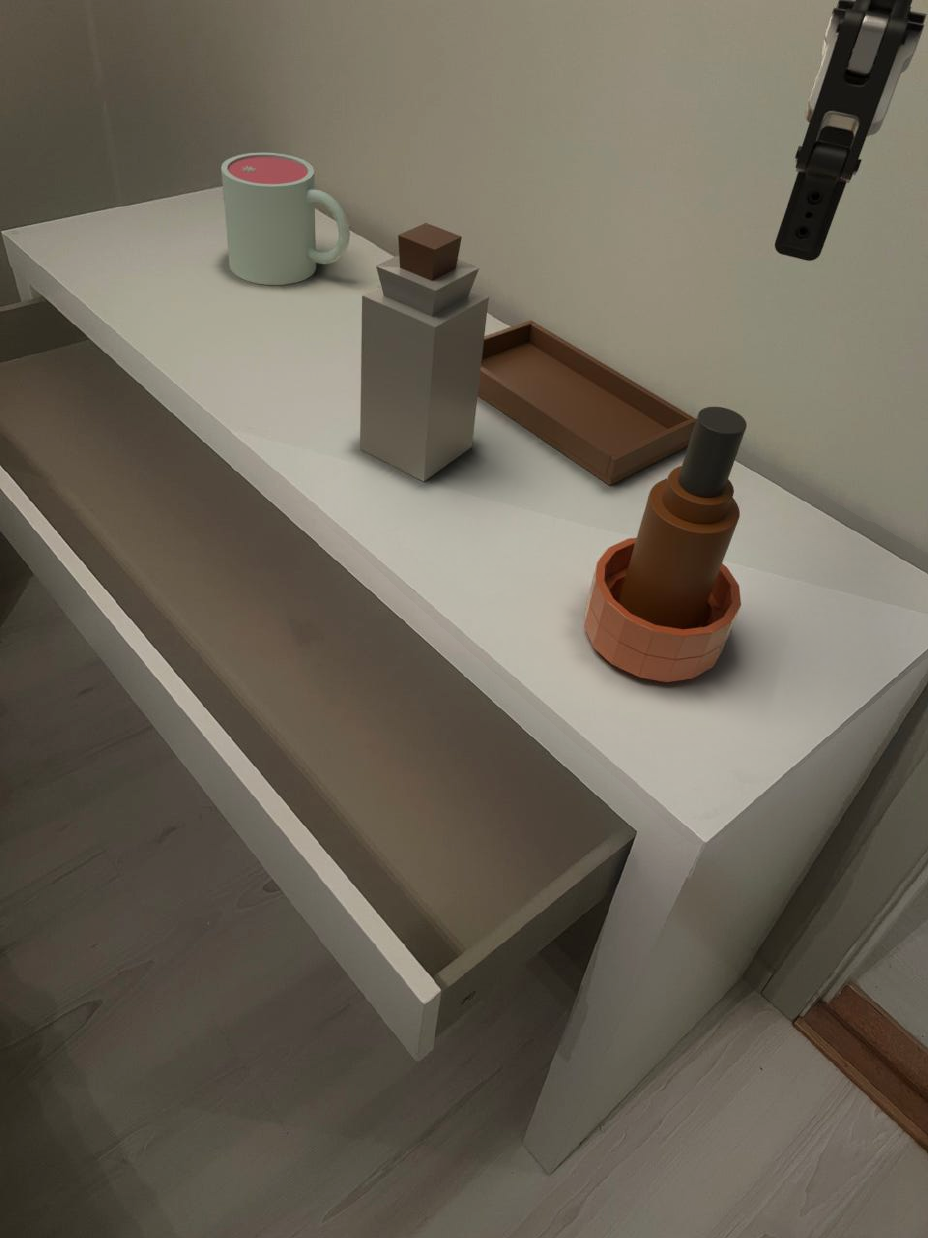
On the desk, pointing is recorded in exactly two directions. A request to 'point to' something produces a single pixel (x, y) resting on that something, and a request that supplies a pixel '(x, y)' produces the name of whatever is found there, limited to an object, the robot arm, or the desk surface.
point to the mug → (275, 218)
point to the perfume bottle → (421, 354)
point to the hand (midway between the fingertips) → (806, 225)
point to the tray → (579, 403)
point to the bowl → (649, 644)
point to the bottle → (686, 527)
